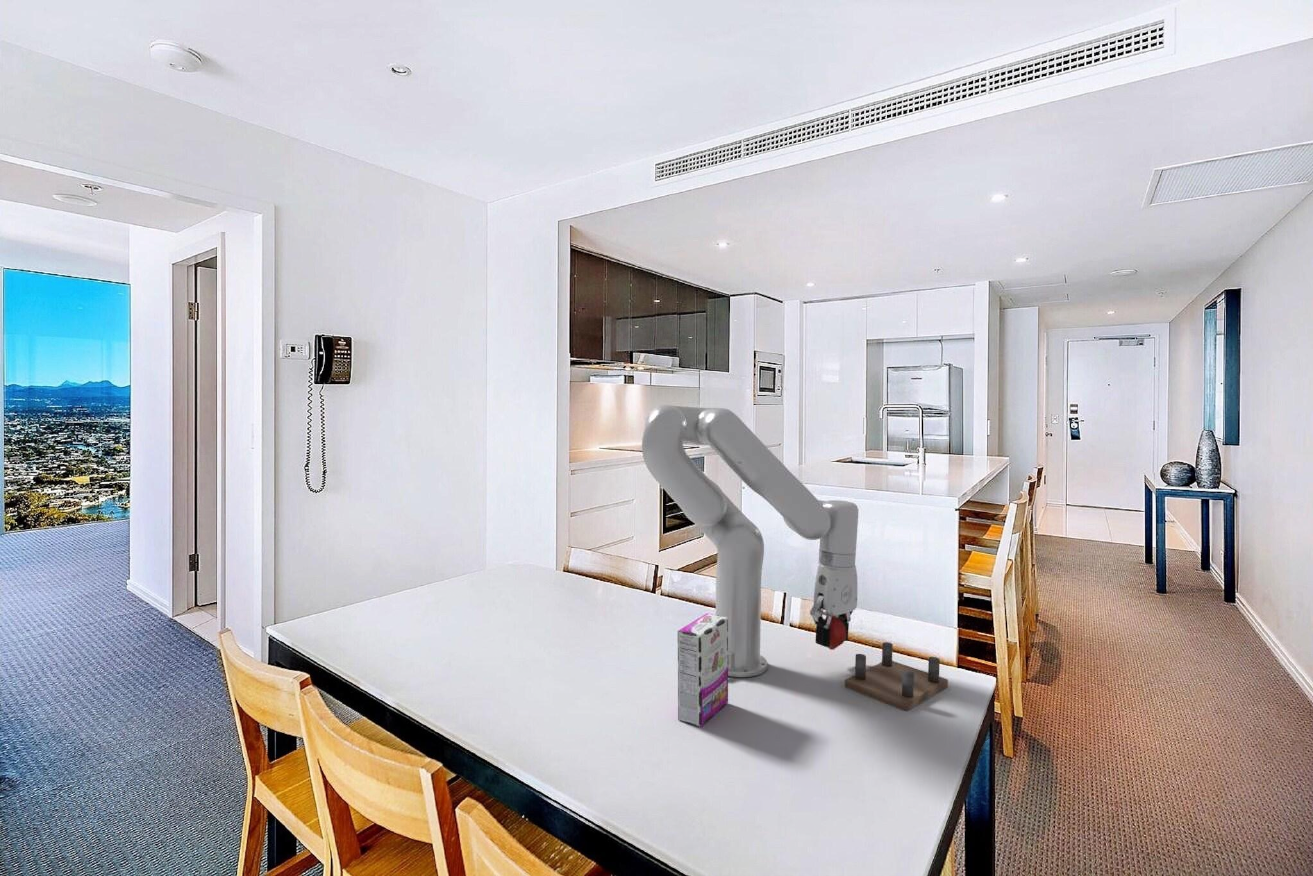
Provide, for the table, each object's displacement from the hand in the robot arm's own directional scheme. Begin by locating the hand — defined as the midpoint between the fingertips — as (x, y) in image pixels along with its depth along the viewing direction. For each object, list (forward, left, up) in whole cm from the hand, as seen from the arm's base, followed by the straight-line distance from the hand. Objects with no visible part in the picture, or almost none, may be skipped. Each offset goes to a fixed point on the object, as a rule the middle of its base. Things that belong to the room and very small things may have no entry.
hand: (831, 641), depth 138 cm
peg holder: (+1, -15, -5) cm, 16 cm away
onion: (0, 0, -2) cm, 2 cm away
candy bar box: (-36, +2, -5) cm, 37 cm away
